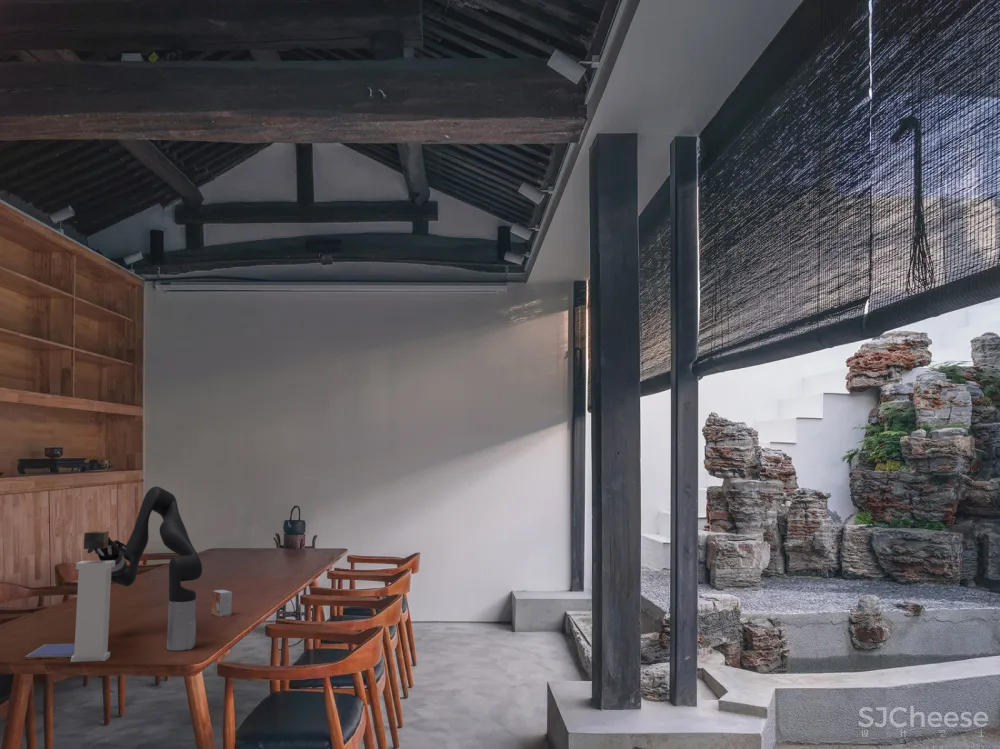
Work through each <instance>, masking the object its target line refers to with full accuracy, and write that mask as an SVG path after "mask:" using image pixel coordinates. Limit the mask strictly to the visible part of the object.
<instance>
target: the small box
mask: <svg viewBox="0 0 1000 749" xmlns="http://www.w3.org/2000/svg"><path fill="white" fill-rule="evenodd" d="M211 593H212V594H211V608H210V609H211V611H210V615H211V614H214V615H217V616H223V615H229V614H231V615H232V605H233V603H232V601H233V600H232V599H233V591H230V590H226V589H217V590H212V592H211ZM214 615H213V616H214ZM217 616H216V617H217Z"/></svg>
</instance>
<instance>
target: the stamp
mask: <svg viewBox="0 0 1000 749" xmlns="http://www.w3.org/2000/svg"><path fill="white" fill-rule="evenodd" d="M109 533H110V532H109V530H94V531H93V530H91V531H90V530H88V531H85V532H84V535H83V536H84V539H83V549H84V550H88V549H104V548H107V547H108V537H109V538H110V539H111V536H109Z"/></svg>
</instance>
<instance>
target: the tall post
mask: <svg viewBox="0 0 1000 749" xmlns="http://www.w3.org/2000/svg"><path fill="white" fill-rule="evenodd" d="M112 567H115V561H100V560H81V561H78V562H76V563H75V570H78V578H77V594H76V595H77V599H76V615H75V632H74V633H75V634H74V644H75V649H74V655H73V656H72V657H71V658H70V662H71V663H77V662H78V663H79V662H102V661H103V662H105V661H106V660H108V659H109V658H110V657H111V651H108V649H109V648H108V646H109V626H110V608H111V607H110V604H111V587H112V586H111V584H112V582H111V570H112Z"/></svg>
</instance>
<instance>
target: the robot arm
mask: <svg viewBox="0 0 1000 749" xmlns="http://www.w3.org/2000/svg"><path fill="white" fill-rule="evenodd" d="M152 512H155V513H157V514H158V515H160V516H161V518H162V520H163V521H162V522H161V524H160V525H159V530H158V532H159V536H160V538H161V541H162V543H163V545H164V546H165V547H166V548H167V549H169V550H170V551H171V552H174V553H175V554H177V555H175V556H172V557H171V558H170V560H169V564H168V617H167V635H166V636H167V637H166V638H167V640H166V641H167V642H166V649H167V650H168V651H175V652H176V651H186V650H192V649H193V648H194V647H196V635H197V634H196V631H197V619H196V600H197V593H196V591H194V590H193V589H188V588H185V587H183V586H182V584H181V582H189V581H190V582H191V581H196V580H198V579H200V578H201V576H202V573H203V565H202V560H201V558H200V555H199V554H198V553H197V551H196V549H195V548H194V546H193V544H192V542H191V540H190V537H189V534H188V532H187V531H188V530H187V529H186V526H185V524H184V522H183V520H182V517H181V514H180V511H179V508H178V501H177V499H176V497H175V495H174V494H173V493H171V492H170V491H168V490H166V489H164V488H162V487H160V486H153V487H151V488H150V489H149V490H148V491H147V492H146V493H145V496H144V497H143V499H142V503H141V505H140V508H139V512H138V513H137V514H138V515H137V517H136V520H135V524H134V527H133V529H132V532H131V534H130V536H129V539H128V540H127V543H126V544H125V543H122V542H121V541H119V540H117V539H115V540H114V541H113V540H112V539H111V537H110V536H108V547H107V548H104V549H87V551H86V552H87V554H92V553H95V555H97V556H98V559H99V561H115V567H112V570H111V583H114V584H118V585H121V586H124V587H130V586H131V585H133V583H134V582H135V581H136V579H137V575H138V574H137V573H138V569H139V564H140V560H141V558H142V556H143V554H144V552H145V550H146V548H147V545H148V542H149V523H150V522H149V521H150V516H151V513H152ZM109 537H110V538H109ZM126 560H127V561H128V562H129V566H128V563H127V561H126Z"/></svg>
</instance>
